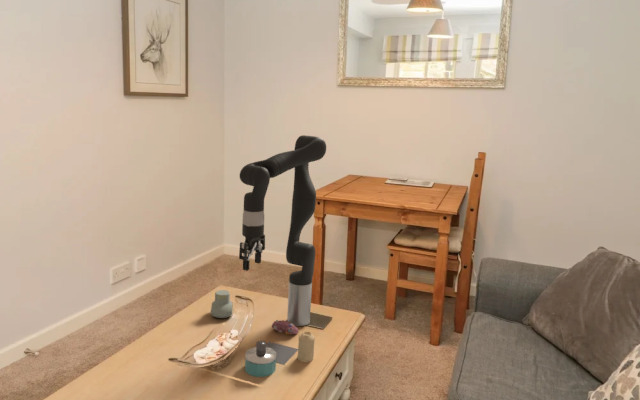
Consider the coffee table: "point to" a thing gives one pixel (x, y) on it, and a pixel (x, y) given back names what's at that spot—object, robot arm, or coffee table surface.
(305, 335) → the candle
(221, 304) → the air freshener
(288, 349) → the mat
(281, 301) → the coffee table surface
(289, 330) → the purple rounded lump
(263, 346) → the lid
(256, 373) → the bowl
